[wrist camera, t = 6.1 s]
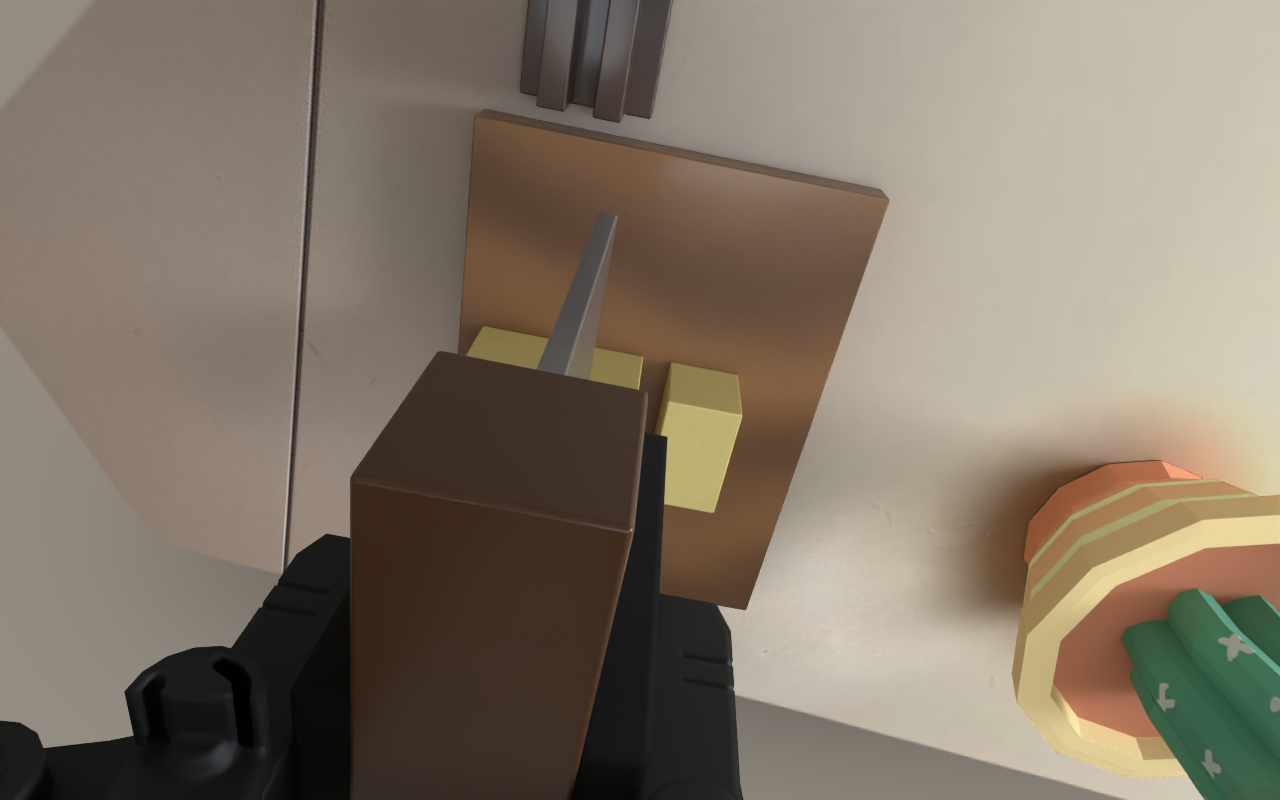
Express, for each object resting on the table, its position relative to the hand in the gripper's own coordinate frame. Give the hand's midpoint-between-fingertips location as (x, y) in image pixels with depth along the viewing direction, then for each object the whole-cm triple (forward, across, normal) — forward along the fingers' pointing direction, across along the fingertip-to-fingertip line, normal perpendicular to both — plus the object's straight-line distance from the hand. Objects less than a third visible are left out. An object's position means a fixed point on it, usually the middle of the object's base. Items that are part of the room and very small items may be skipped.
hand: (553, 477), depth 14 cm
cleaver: (+4, 0, 0) cm, 4 cm away
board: (+19, +2, -8) cm, 21 cm away
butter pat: (+18, +4, -8) cm, 20 cm away
